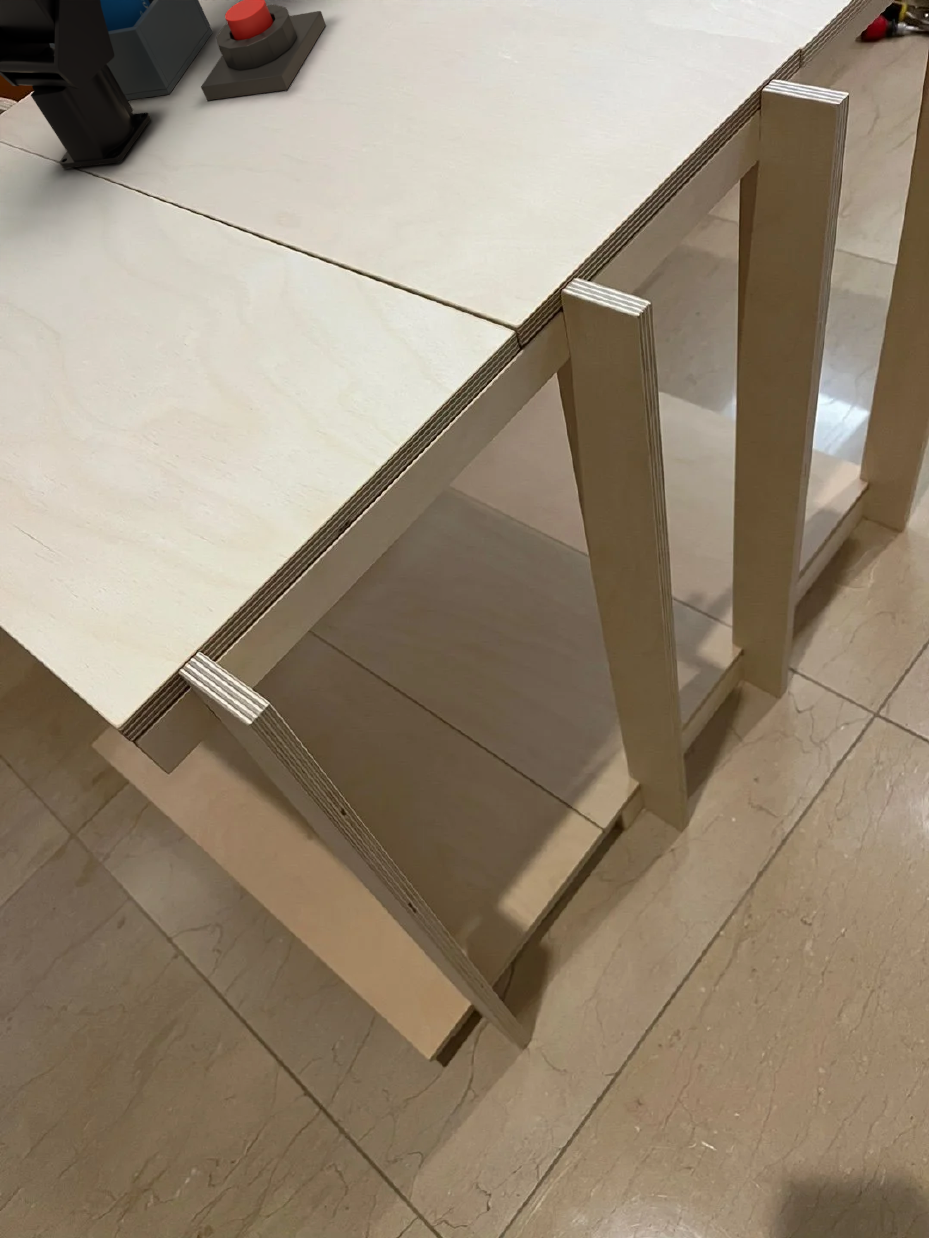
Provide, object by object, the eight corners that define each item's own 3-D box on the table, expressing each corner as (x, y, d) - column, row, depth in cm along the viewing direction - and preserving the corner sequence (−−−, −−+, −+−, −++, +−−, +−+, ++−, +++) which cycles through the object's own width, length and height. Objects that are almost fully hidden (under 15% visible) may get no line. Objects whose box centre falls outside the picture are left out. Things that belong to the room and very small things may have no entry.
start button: (264, 39, 75) (255, 17, 74) (228, 45, 76) (218, 23, 75) (279, 16, 77) (270, -6, 75) (243, 22, 78) (234, 0, 77)
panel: (287, 90, 75) (271, 53, 73) (207, 101, 78) (189, 65, 75) (326, 25, 80) (312, -13, 77) (249, 37, 82) (234, 1, 80)
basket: (169, 94, 80) (135, 29, 76) (79, 107, 84) (42, 45, 79) (213, 32, 85) (183, -33, 81) (126, 46, 89) (93, -15, 84)
